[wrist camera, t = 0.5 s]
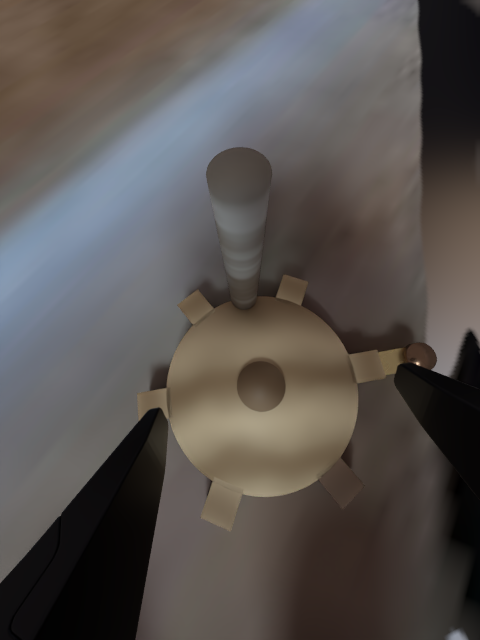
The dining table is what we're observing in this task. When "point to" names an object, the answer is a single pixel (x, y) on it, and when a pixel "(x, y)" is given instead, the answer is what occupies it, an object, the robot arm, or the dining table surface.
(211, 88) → the dining table surface
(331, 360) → the index wheel
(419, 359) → the pointer
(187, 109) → the dining table surface
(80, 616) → the robot arm
